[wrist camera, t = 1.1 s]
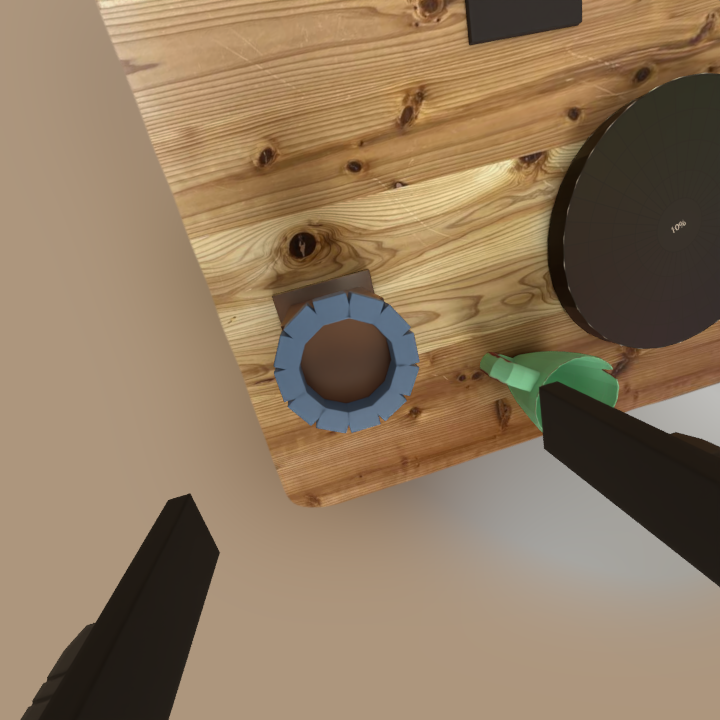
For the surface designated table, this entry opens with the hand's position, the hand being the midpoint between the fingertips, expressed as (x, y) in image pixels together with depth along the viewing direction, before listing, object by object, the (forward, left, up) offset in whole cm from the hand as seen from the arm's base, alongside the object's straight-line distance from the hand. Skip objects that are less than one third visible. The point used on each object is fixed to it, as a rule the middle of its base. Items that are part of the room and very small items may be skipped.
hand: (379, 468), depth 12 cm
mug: (+19, +14, -29) cm, 38 cm away
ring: (0, 0, -15) cm, 15 cm away
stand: (0, 0, -29) cm, 29 cm away
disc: (+17, +39, -29) cm, 52 cm away
